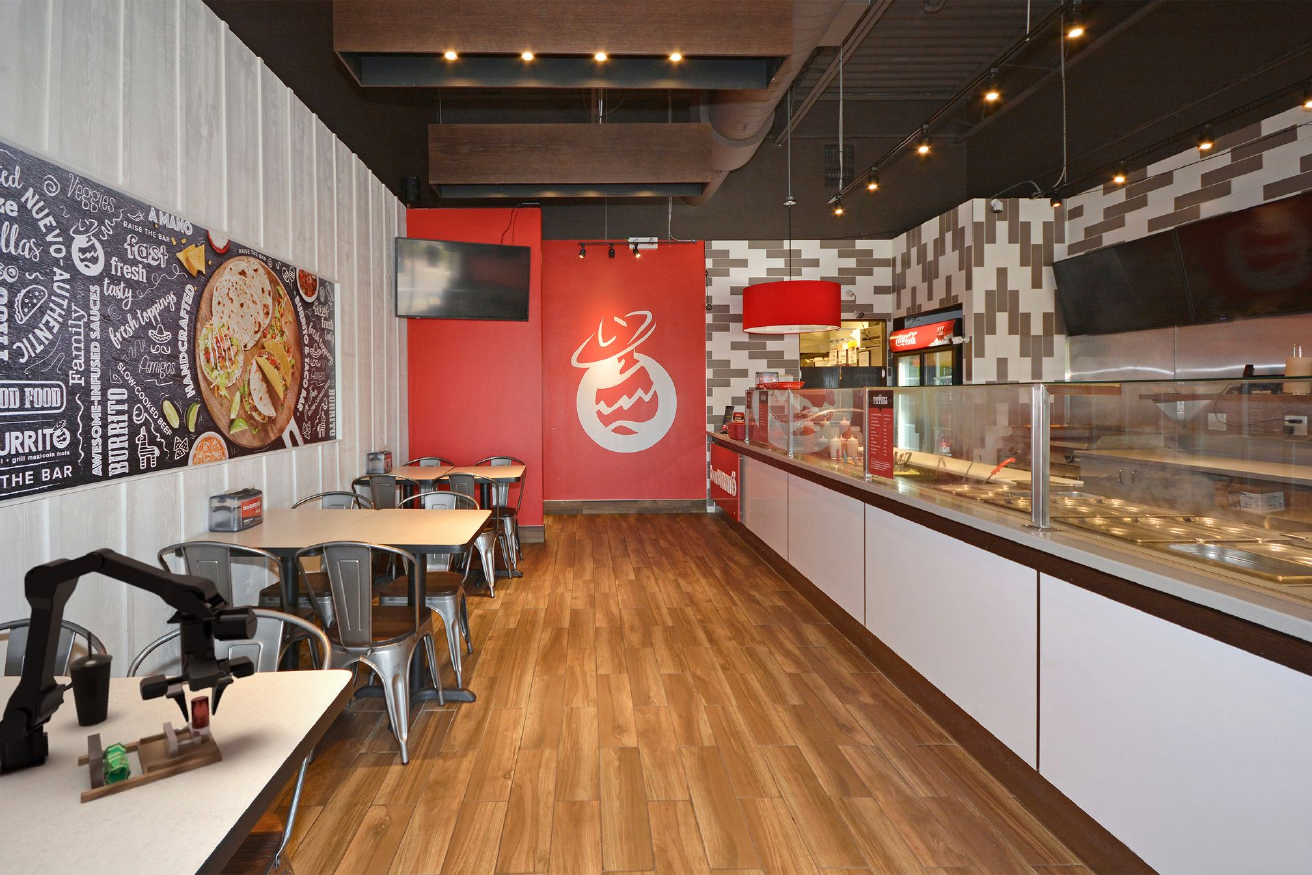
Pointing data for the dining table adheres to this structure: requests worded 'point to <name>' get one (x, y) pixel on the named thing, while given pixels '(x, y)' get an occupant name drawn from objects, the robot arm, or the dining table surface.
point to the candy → (116, 764)
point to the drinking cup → (91, 686)
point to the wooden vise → (147, 762)
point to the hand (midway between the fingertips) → (200, 718)
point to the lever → (190, 727)
